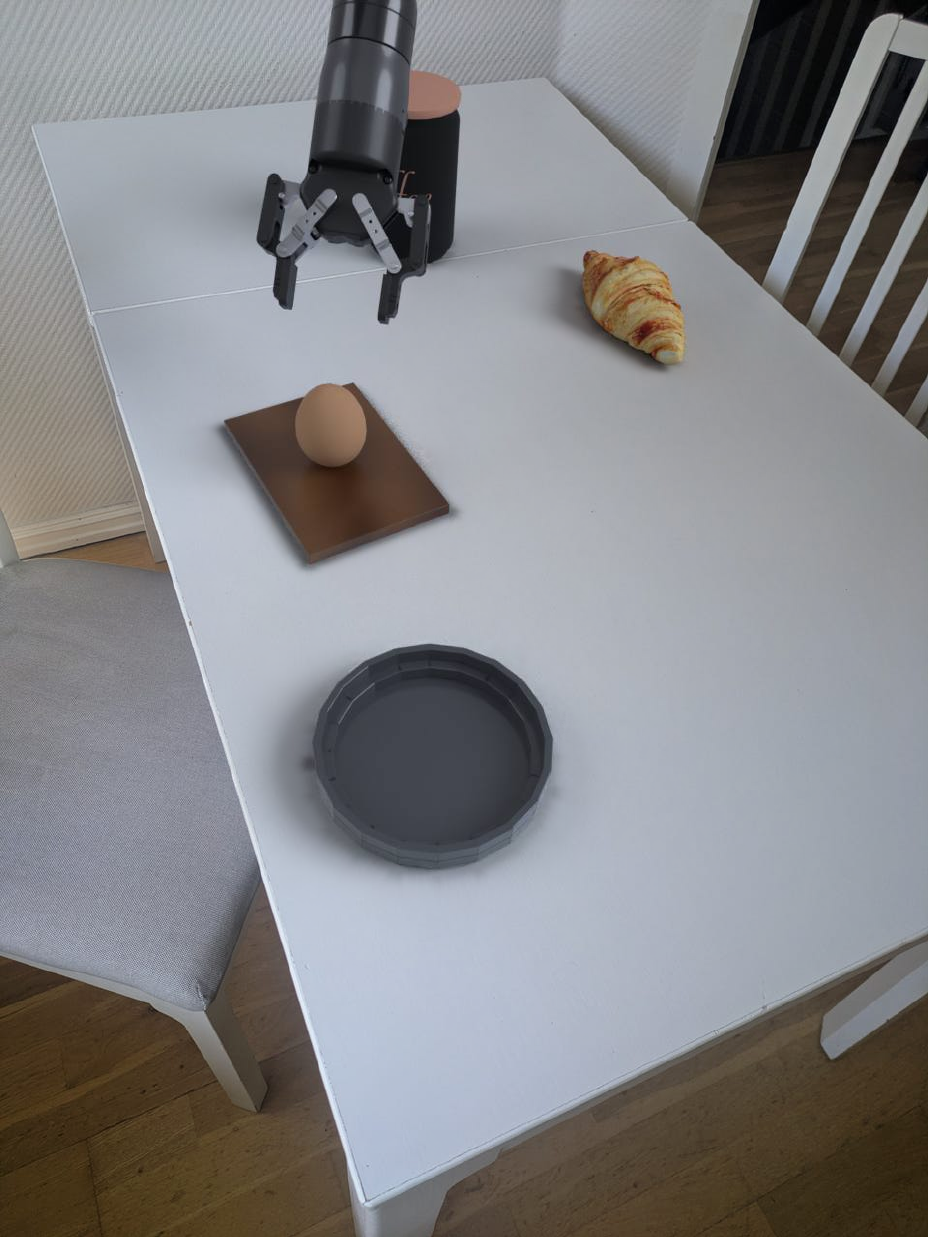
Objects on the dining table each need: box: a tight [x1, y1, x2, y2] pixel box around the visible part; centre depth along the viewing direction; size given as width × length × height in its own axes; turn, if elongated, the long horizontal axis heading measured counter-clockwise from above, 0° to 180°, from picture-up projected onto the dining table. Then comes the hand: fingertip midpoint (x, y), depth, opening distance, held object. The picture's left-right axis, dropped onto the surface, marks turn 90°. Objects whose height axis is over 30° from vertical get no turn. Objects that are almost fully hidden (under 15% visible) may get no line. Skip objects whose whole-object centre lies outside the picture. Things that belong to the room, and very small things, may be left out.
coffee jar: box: [369, 69, 463, 265], centre depth 106 cm, size 11×11×18 cm
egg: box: [295, 382, 367, 467], centre depth 82 cm, size 6×6×8 cm
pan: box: [311, 643, 554, 870], centre depth 66 cm, size 17×17×3 cm
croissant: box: [581, 249, 687, 366], centre depth 103 cm, size 21×10×8 cm, turn 25°
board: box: [223, 381, 450, 565], centre depth 86 cm, size 14×20×1 cm
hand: (334, 314), depth 77 cm, fingers open, 8 cm apart
